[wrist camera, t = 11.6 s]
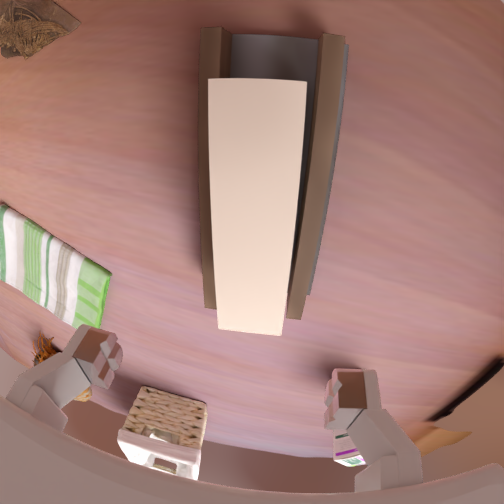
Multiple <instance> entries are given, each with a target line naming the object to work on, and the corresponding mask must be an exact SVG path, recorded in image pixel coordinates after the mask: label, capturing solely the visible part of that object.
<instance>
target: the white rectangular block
mask: <svg viewBox="0 0 504 504" xmlns="http://www.w3.org/2000/svg"><path fill="white" fill-rule="evenodd" d="M306 92H307V82H305V81H295V80H280V79H259V78H216V79H208V125H209V170H210V199H211V222H212V242H213V259H214V276H215V291H216V305H217V318H218V329H223V330H231V331H240V332H248V333H258V334H267V335H278V336H281V333H282V326H283V319H284V312H285V305H286V297H287V290H288V282H289V274H290V266H291V258H292V249H293V240H294V231H295V222H296V213H297V203H298V193H299V182H300V171H301V160H302V148H303V135H304V122H305V107H306Z"/></svg>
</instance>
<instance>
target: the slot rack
mask: <svg viewBox="0 0 504 504" xmlns="http://www.w3.org/2000/svg"><path fill="white" fill-rule="evenodd" d="M348 48H349V45H347V44H345V36H340V35H334V34H328V33H323V34H322V36H321V37H320V38H319V40H316V39H308V38H299V37H289V36H276V35H256V34H231V33H230V32H228V31H227V30H226V29H224V28H223V27H205V28H201V34H200V56H199V91H198V174H199V211H200V236H201V256H202V274H203V289H204V303H205V308H210V309H216V310H217V305H216V291H215V276H214V259H213V242H212V222H211V199H210V170H209V125H208V79H216V78H259V79H280V80H295V81H305V82H307V92H306V107H305V122H304V135H303V148H302V160H301V171H300V182H299V193H298V203H297V213H296V222H295V231H294V240H293V249H292V258H291V266H290V274H289V282H288V290H287V293H288V297H287V316H286V318H289V319H299V320H301V317H302V312H303V308H304V304H305V299H306V295H310V291H311V287H312V282H313V278H314V273H315V269H316V264H317V259H318V255H319V250H320V245H321V240H322V235H323V230H324V224H325V219H326V214H327V208H328V203H329V197H330V191H331V185H332V179H333V173H334V167H335V160H336V153H337V147H338V139H339V132H340V125H341V117H342V109H343V100H344V91H345V82H346V71H347V60H348Z"/></svg>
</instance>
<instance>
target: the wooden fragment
mask: <svg viewBox="0 0 504 504" xmlns="http://www.w3.org/2000/svg"><path fill="white" fill-rule="evenodd" d="M80 24H81V22H79V21H78V20H77V19H75V18H74V17H73V16H71V15H70V14H69V13H67V12H66V11H65V10H63V9H62V8H60V7H59V6H58V5H57V4H55V3H54V2H52V1H51V0H0V47H1V54H2V56H4V57H5V58H7V59H8V58H9V57H13V56H17V55H18V56H24V58H25V59H27V58H28V57H30V56H32V55H33V54H34V53H36V52H38V51H39V50H41V49H42V48H43V47H44V46H45V45H48V44H49V43H51V42H52V41H54V40H55V39H57V38H58V37H59V36H65V35H68V34H70V33H71V32H72V31H73V30H75V29H76V28H77V27H78V26H79V25H80Z"/></svg>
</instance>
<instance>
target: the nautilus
mask: <svg viewBox="0 0 504 504" xmlns="http://www.w3.org/2000/svg"><path fill="white" fill-rule="evenodd" d="M43 336H44V335H43ZM40 337H41V334H40V336H39V338H40ZM53 338H54V337H53ZM53 338H52V339H53ZM44 339H45V337H44ZM46 339H47V338H46ZM46 339H45V340H46ZM52 339H51V341H52ZM41 341H42V348H43V347H44V346H45V344H44V343H43V337H42V338H41ZM46 341H47V340H46ZM51 341H50V338H49V342H47V345H48V343H49V345H48V346H45V348H43V350H41V349H40V347H39V339H38V347H39V349H40V352H39V353H38V354H37V353H36V350H35V347H34V341H33V347H34V350H35V353H36V354H37V355H36V356H35V354H34V356H35V358H34V361H33V362H34V366H36V365H38V364H39V363H41V362H43V361H45V360H46V359H48V358H50V357H52V356H53V355H55V354H57V352H56V351H55V350H54V349H53V347H52V346H51V344H50V343H51ZM43 344H44V346H43ZM50 346H51V347H50ZM49 347H50V348H49ZM51 348H52V349H51ZM91 396H92V390H91V387H90V386H89V387H88V388H87V389H86V390H84V391H83V392H82V393H80V394H79V395H78V396H77V397H75V398H74V399H73V400H78V401H83V402H85V401H87V400H89V399H90V398H91Z"/></svg>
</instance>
